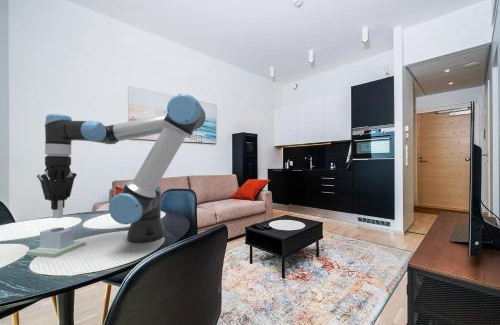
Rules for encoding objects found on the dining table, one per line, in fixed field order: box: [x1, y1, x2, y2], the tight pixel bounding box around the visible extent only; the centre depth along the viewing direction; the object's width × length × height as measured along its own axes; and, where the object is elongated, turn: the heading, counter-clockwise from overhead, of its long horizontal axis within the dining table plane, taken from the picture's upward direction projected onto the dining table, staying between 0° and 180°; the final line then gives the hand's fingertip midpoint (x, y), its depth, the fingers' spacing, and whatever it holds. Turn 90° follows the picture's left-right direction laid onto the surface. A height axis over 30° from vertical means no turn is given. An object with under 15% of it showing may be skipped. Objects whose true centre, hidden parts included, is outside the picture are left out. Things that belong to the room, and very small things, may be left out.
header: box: [25, 240, 87, 258], centre depth 83 cm, size 12×12×5 cm
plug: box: [39, 227, 75, 250], centre depth 83 cm, size 9×5×7 cm, turn 81°
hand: (57, 217), depth 83 cm, fingers closed
